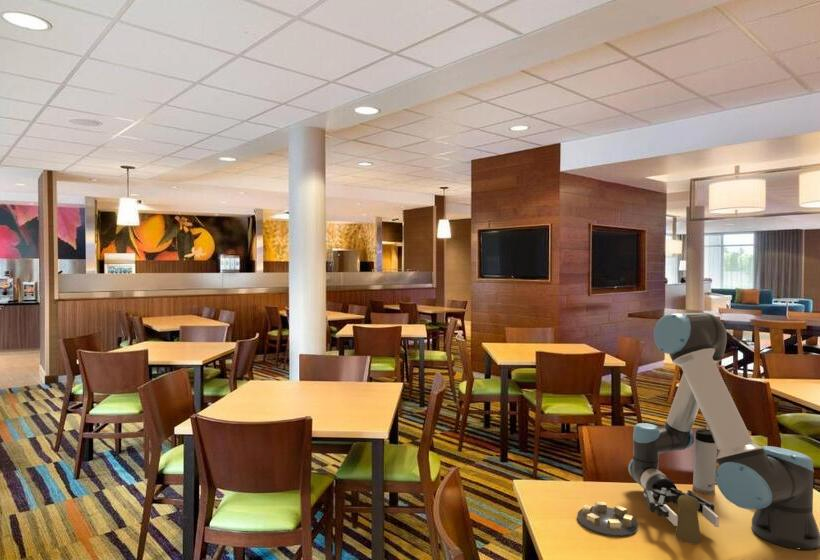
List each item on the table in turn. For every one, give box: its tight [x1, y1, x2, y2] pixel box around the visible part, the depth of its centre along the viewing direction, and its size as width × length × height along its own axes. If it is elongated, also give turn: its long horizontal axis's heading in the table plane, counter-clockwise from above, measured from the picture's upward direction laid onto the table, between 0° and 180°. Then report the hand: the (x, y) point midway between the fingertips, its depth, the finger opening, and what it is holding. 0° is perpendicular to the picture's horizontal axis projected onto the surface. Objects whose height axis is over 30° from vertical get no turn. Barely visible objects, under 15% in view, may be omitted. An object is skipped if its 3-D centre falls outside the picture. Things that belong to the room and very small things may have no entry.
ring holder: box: [577, 501, 639, 538], centre depth 145 cm, size 16×16×3 cm
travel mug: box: [692, 428, 718, 495], centre depth 167 cm, size 6×7×20 cm
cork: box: [675, 495, 702, 545], centre depth 137 cm, size 6×6×11 cm
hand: (696, 521), depth 132 cm, fingers open, 10 cm apart
